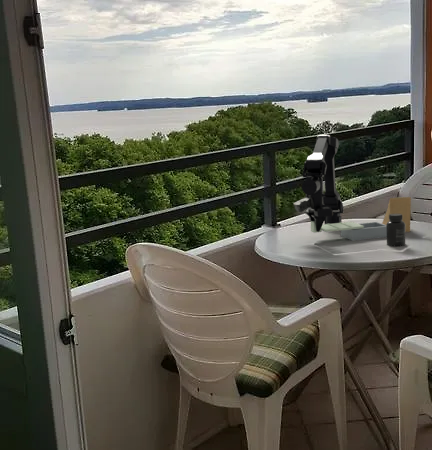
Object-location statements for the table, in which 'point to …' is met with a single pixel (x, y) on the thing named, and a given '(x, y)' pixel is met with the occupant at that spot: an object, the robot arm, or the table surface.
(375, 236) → the tub
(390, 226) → the supplement bottle
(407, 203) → the sandwich container
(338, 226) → the lid
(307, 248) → the table surface
